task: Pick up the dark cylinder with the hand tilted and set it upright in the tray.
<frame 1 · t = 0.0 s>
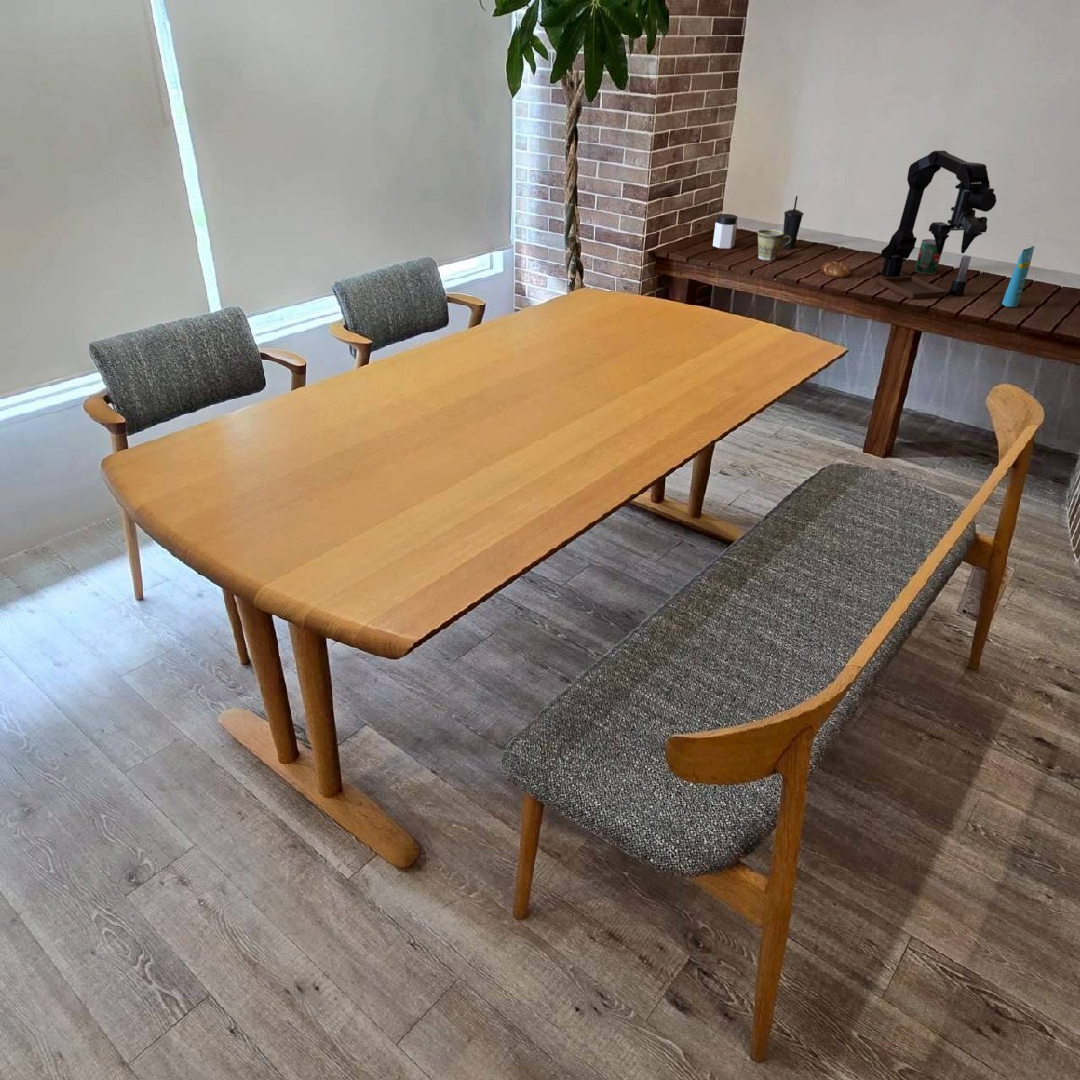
hand: (950, 253, 283), 15 cm above the bench, tool pointing down, fingers open, 9 cm apart
dark cylinder: (955, 294, 294), on the bench
drinking cup: (787, 247, 346), on the bench
jar: (723, 246, 346), on the bench
tube: (1009, 305, 284), on the bench
ceramic cup: (770, 259, 330), on the bench
canned tomato: (925, 271, 318), on the bench
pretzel: (836, 274, 313), on the bench
tray: (911, 289, 297), on the bench
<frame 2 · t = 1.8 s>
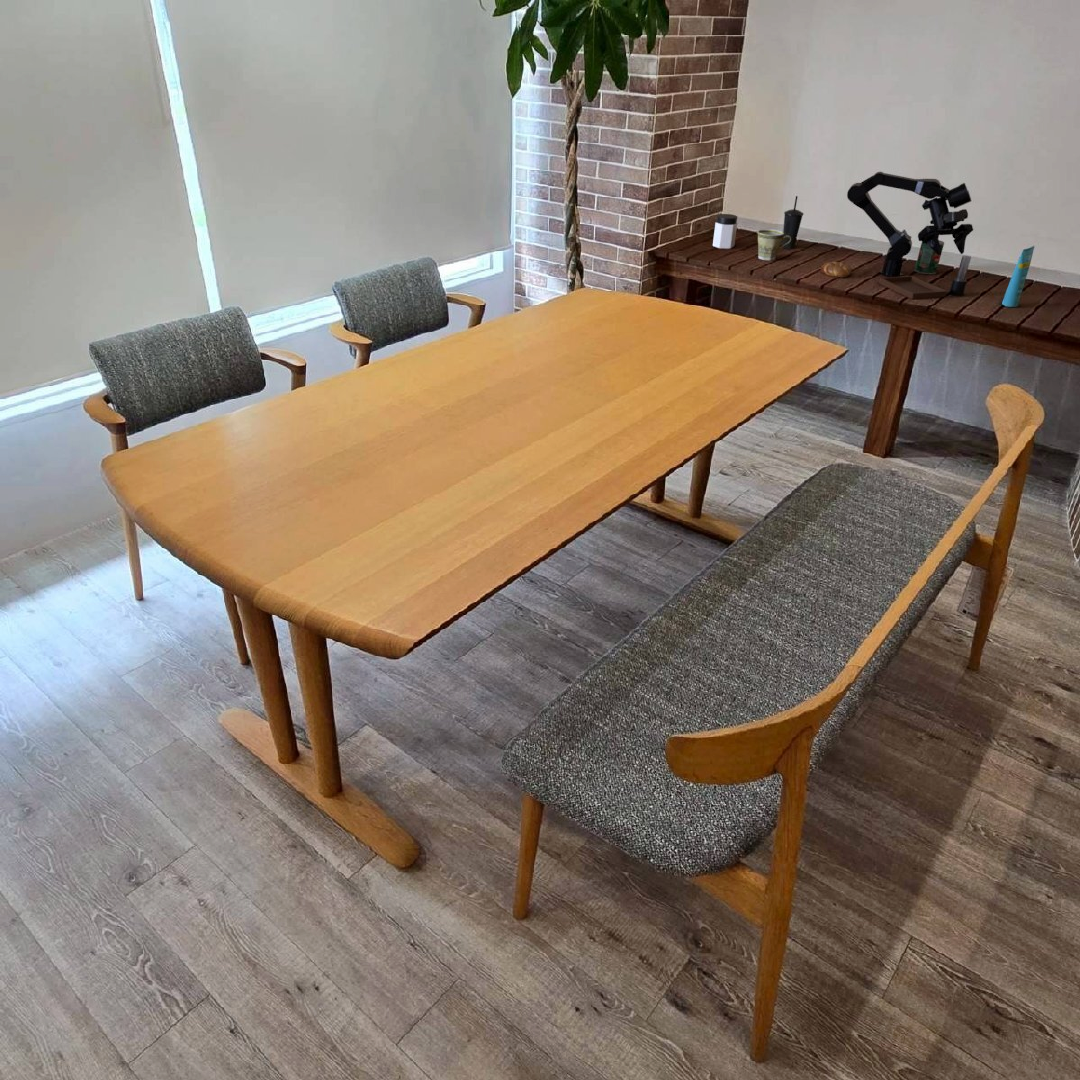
hand: (951, 254, 293), 12 cm above the bench, tool tilted 45°, fingers open, 9 cm apart
nothing on the bench moved.
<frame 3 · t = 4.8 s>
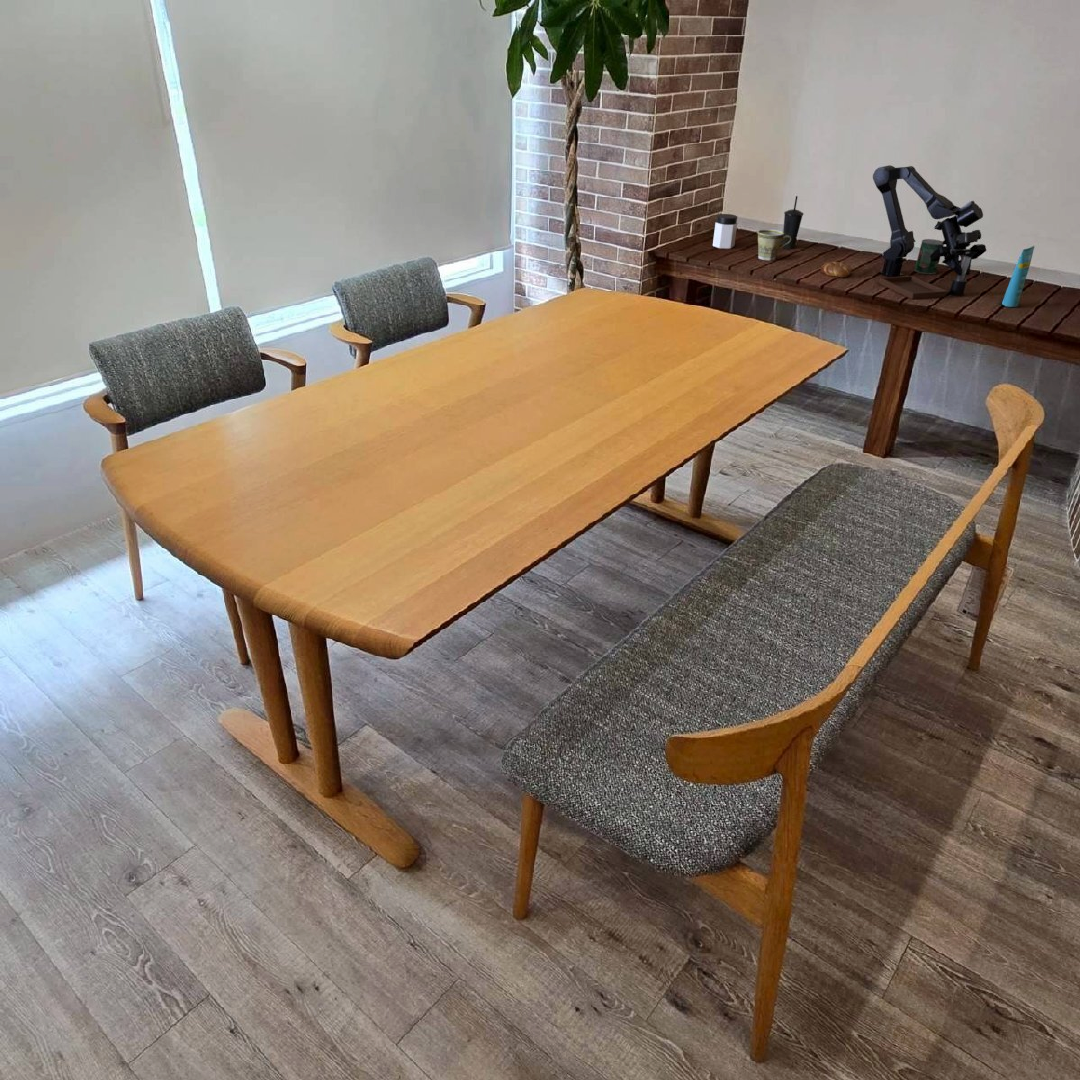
hand: (964, 275, 289), 7 cm above the bench, tool tilted 45°, fingers closed on dark cylinder, 3 cm apart
dark cylinder: (955, 294, 294), on the bench, touching gripper
everything else where it was.
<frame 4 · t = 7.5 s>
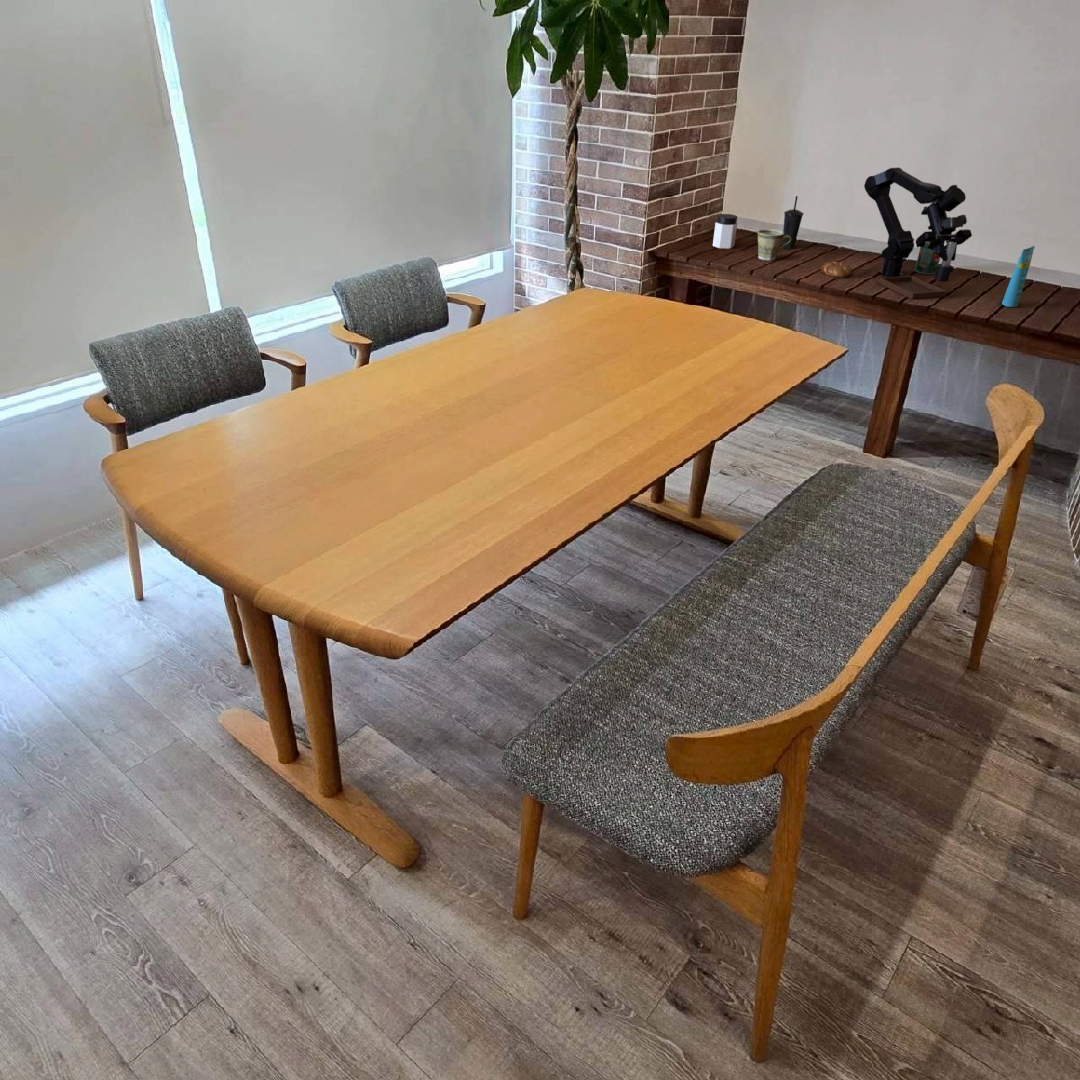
hand: (949, 260, 287), 12 cm above the bench, tool tilted 45°, fingers closed on dark cylinder, 3 cm apart
dark cylinder: (941, 279, 292), point 5 cm above the bench, touching gripper
everything else where it was.
when the fingers open (8 cm above the bench, at t = 10.1 s): dark cylinder stays where it is, resting on tray.
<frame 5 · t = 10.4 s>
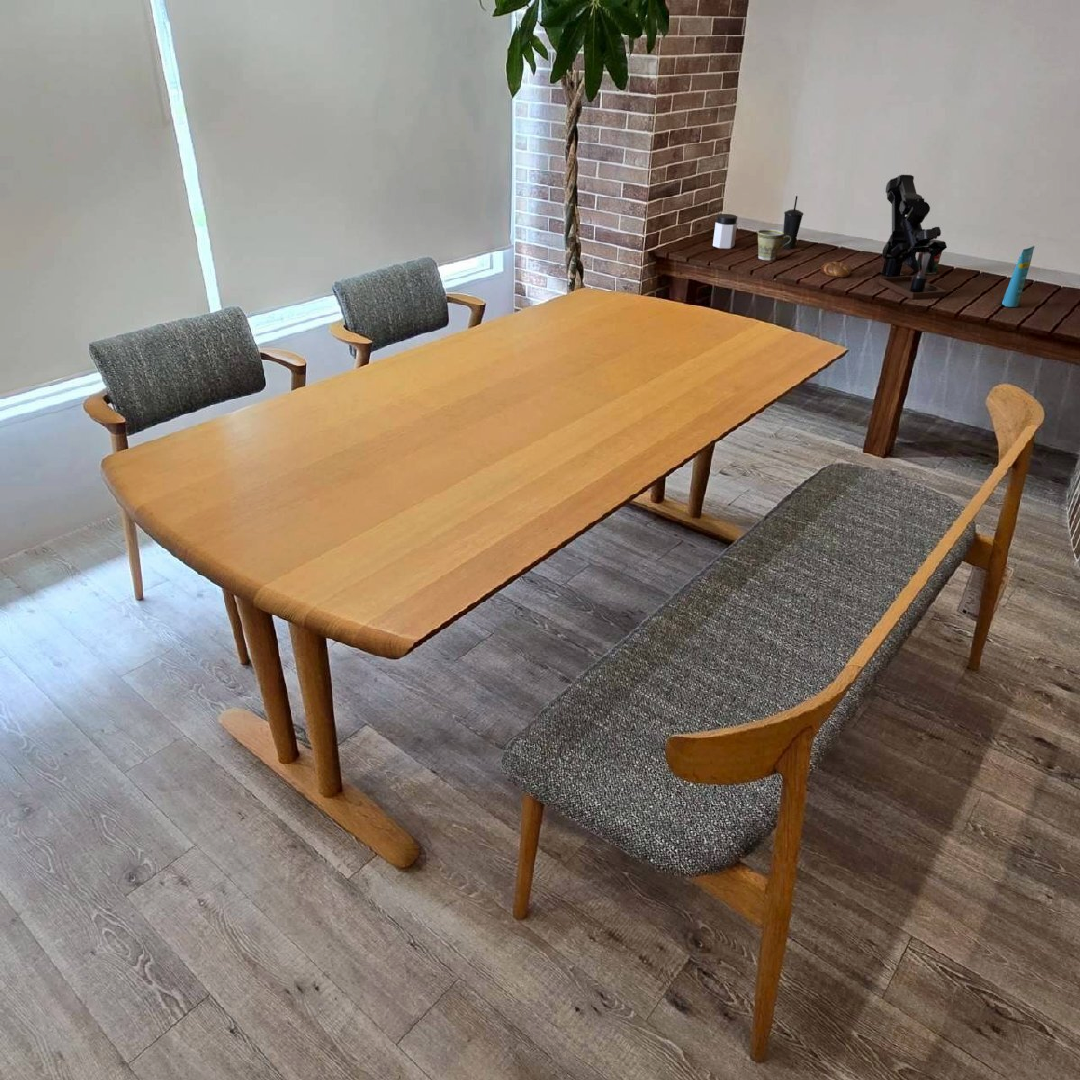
hand: (924, 271, 290), 8 cm above the bench, tool tilted 45°, fingers open, 5 cm apart
dark cylinder: (916, 291, 295), resting on tray
everything else where it was.
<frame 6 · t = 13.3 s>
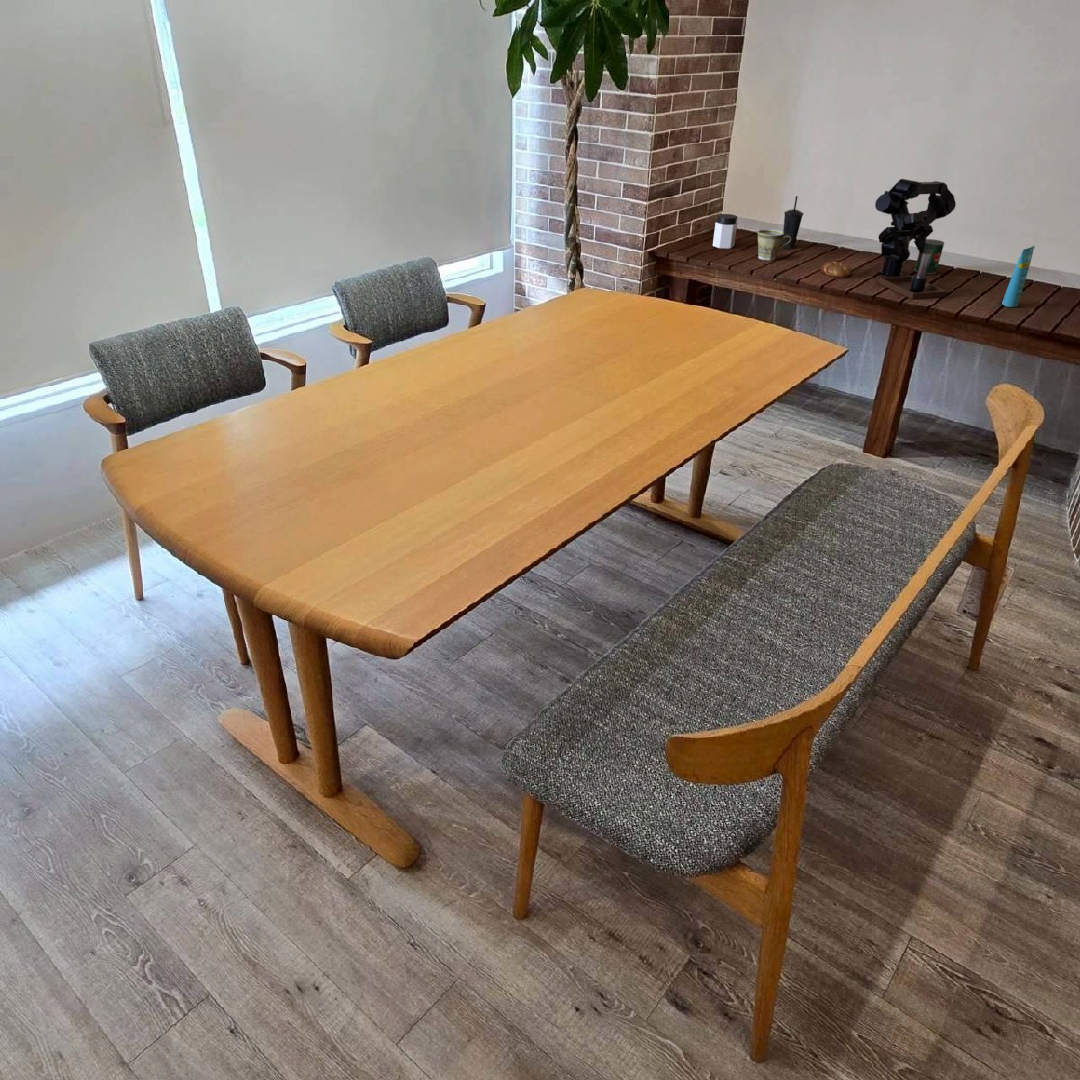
hand: (911, 255, 295), 11 cm above the bench, tool tilted 45°, fingers open, 9 cm apart
nothing on the bench moved.
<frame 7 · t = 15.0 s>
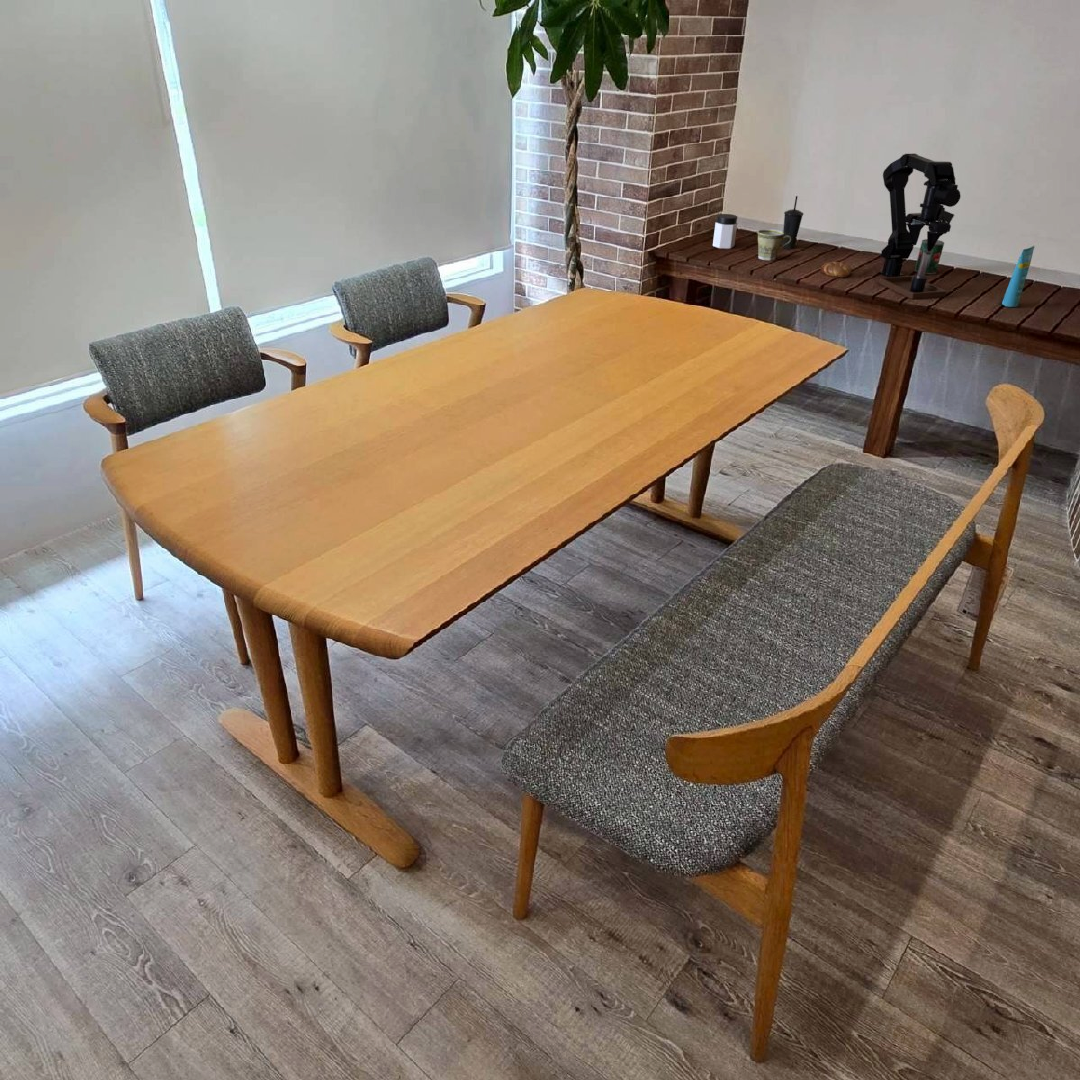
hand: (921, 248, 295), 13 cm above the bench, tool pointing down, fingers open, 9 cm apart
nothing on the bench moved.
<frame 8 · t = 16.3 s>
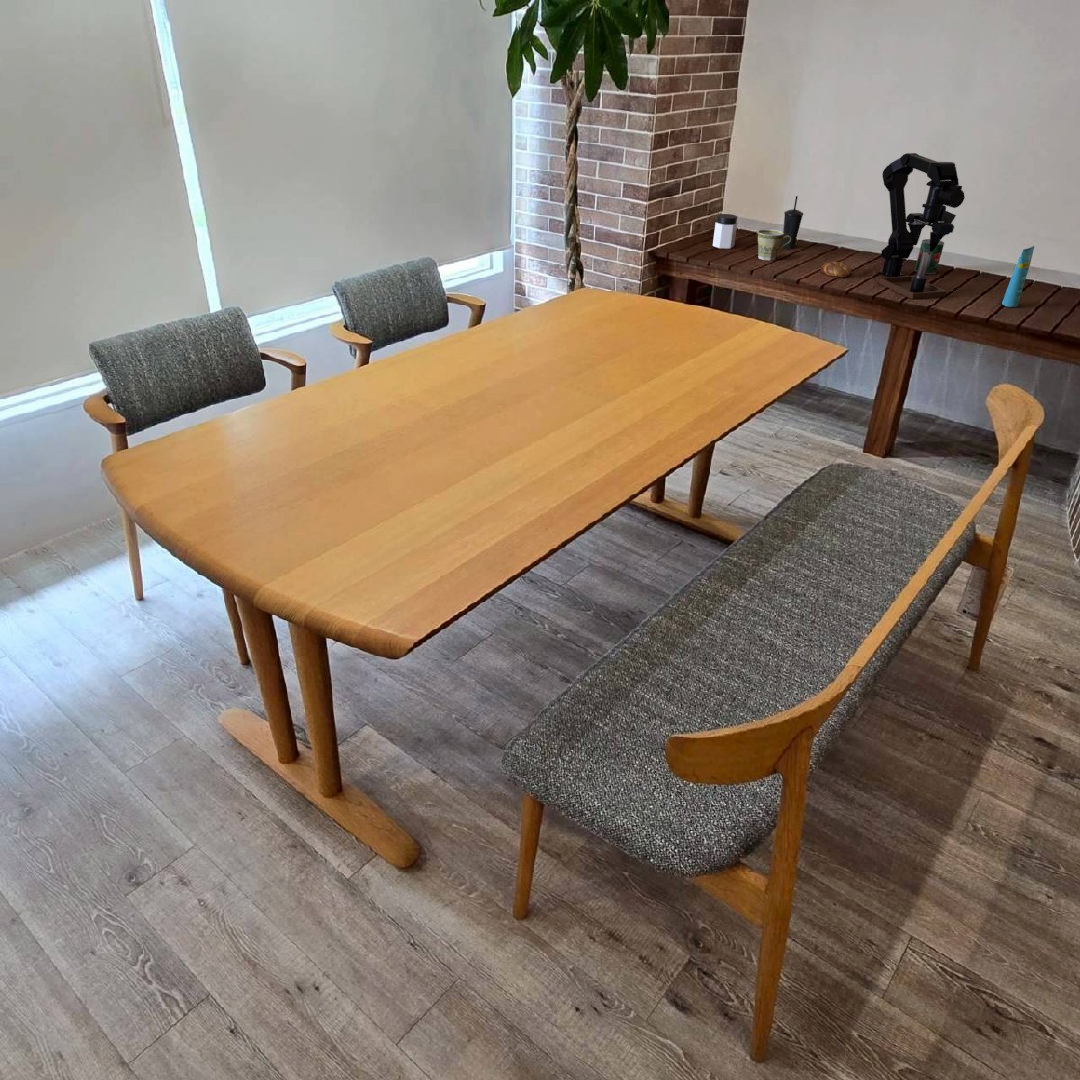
hand: (923, 248, 295), 13 cm above the bench, tool pointing down, fingers open, 9 cm apart
nothing on the bench moved.
at the end: dark cylinder inside the target area in the tray (2.8 cm from its centre), point 0.4 cm above the tray's base; dark cylinder tilted 0°; the gripper is holding nothing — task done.
